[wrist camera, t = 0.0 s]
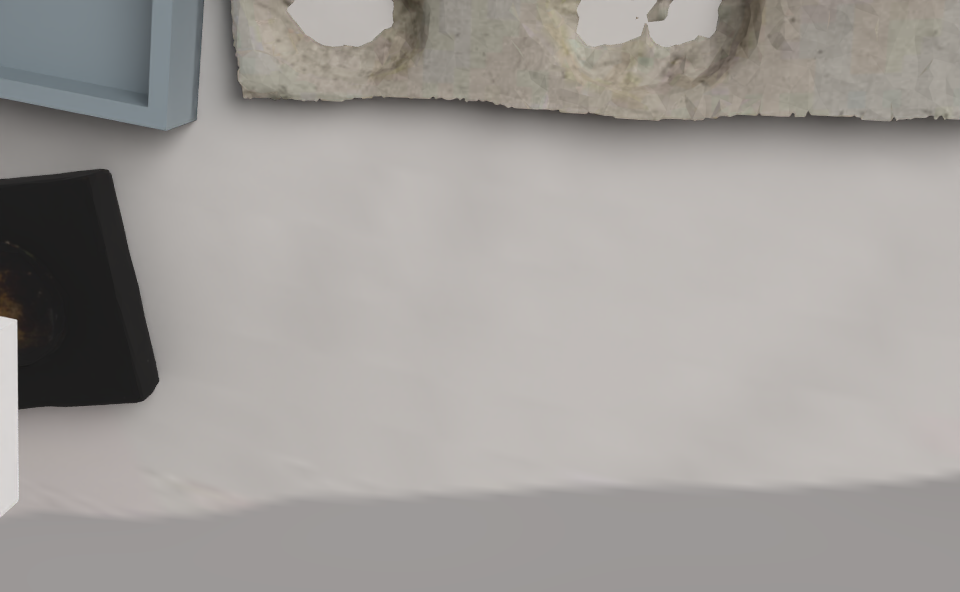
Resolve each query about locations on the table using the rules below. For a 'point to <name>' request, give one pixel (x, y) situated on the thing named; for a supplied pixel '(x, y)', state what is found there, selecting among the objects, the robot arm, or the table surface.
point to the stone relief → (625, 59)
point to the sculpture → (72, 293)
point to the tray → (104, 58)
